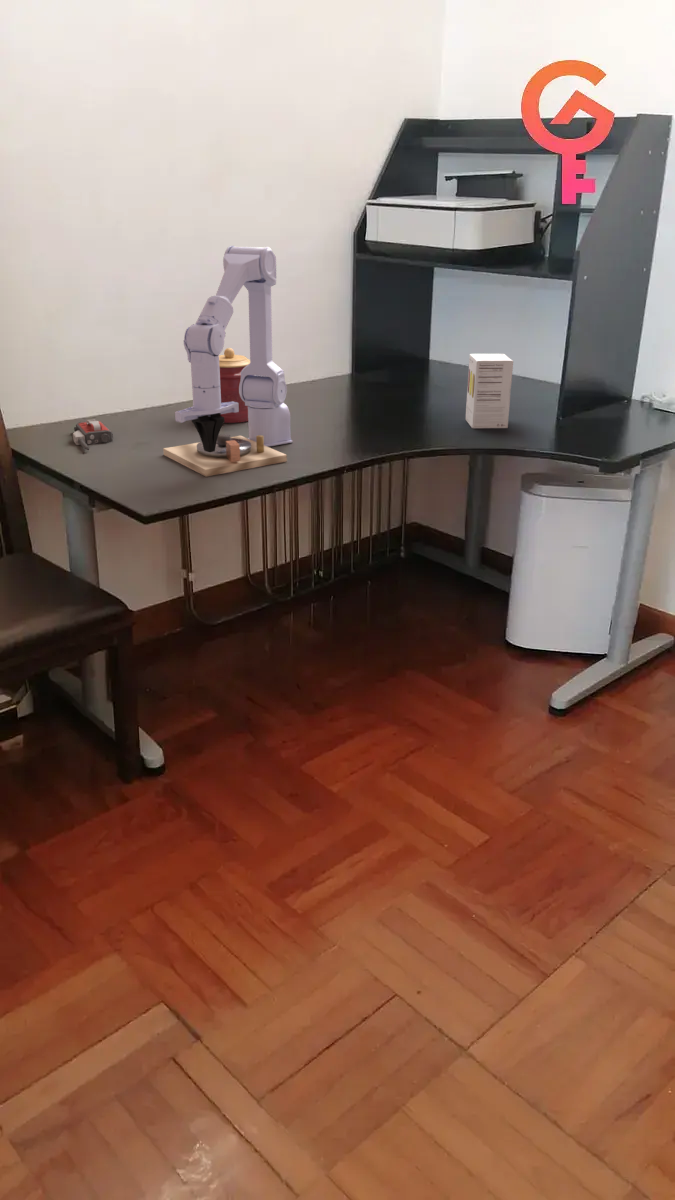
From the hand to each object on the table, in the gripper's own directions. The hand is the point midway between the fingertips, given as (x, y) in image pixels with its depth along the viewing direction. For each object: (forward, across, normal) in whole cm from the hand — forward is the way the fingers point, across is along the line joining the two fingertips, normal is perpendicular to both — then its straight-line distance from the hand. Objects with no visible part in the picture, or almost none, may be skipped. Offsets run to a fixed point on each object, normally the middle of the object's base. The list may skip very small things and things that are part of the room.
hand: (209, 450), depth 198 cm
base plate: (+5, -9, -8) cm, 13 cm away
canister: (+5, -33, -37) cm, 50 cm away
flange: (+3, -8, -6) cm, 11 cm away
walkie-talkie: (+6, +5, -40) cm, 41 cm away
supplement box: (+5, -77, +11) cm, 78 cm away
